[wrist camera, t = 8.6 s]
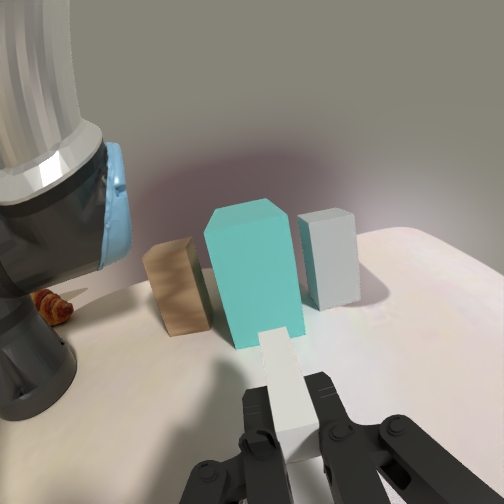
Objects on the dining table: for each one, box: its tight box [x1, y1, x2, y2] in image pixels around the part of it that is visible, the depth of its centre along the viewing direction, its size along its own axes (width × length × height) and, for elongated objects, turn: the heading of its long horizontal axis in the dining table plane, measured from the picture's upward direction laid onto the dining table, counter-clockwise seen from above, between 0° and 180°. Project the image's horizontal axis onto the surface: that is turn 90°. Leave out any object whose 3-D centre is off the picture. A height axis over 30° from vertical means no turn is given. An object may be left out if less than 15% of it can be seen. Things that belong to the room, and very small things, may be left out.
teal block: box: [204, 199, 306, 350], centre depth 31 cm, size 7×15×12 cm, turn 5°
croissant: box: [30, 289, 74, 326], centre depth 39 cm, size 21×10×8 cm, turn 87°
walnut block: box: [142, 237, 213, 337], centre depth 31 cm, size 5×5×10 cm
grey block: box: [297, 208, 360, 311], centre depth 30 cm, size 5×5×10 cm
